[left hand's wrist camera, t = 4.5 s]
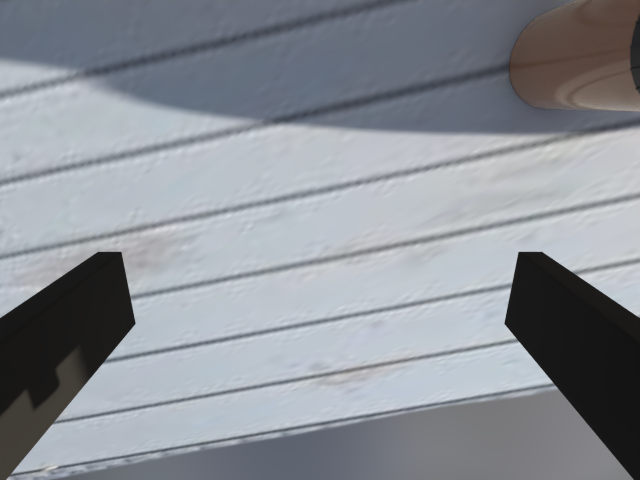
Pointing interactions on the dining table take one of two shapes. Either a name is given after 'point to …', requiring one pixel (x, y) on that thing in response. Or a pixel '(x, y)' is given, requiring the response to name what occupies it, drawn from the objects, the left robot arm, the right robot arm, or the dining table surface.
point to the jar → (578, 57)
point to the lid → (635, 55)
